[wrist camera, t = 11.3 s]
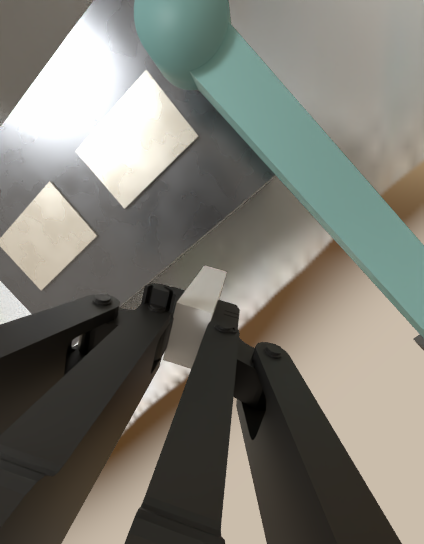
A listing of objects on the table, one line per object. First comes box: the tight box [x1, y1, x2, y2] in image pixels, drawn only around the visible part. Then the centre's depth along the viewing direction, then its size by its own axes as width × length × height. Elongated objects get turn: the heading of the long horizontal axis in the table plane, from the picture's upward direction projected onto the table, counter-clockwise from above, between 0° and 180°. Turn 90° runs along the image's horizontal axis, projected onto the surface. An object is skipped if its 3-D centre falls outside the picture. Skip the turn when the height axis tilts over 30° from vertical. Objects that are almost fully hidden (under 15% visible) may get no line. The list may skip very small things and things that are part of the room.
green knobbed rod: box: [134, 0, 424, 350], centre depth 13 cm, size 24×4×3 cm, turn 44°
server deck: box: [0, 0, 276, 347], centre depth 20 cm, size 15×23×8 cm, turn 130°
